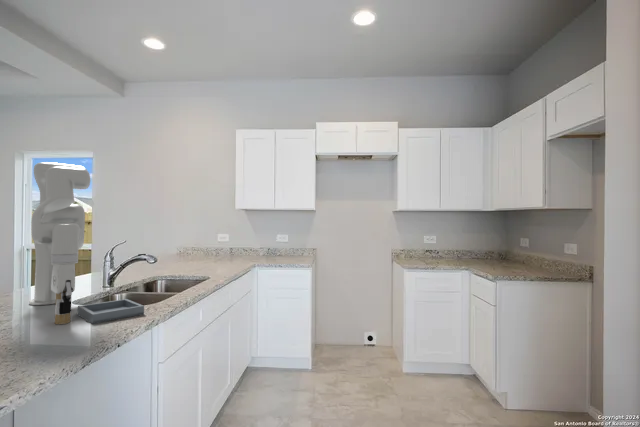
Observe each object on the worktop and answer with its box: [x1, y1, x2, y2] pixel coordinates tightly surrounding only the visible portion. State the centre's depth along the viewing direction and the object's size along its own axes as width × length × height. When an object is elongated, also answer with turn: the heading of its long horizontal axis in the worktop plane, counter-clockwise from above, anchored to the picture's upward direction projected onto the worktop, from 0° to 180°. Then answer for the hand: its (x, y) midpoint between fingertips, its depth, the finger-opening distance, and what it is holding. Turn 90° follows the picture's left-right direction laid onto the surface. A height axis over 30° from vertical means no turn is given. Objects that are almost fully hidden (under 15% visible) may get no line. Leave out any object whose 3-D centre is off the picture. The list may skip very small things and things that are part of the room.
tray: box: [77, 298, 145, 324], centre depth 130 cm, size 17×17×3 cm
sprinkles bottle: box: [54, 287, 72, 325], centre depth 119 cm, size 5×5×13 cm
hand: (63, 311), depth 119 cm, fingers closed on sprinkles bottle, 4 cm apart
